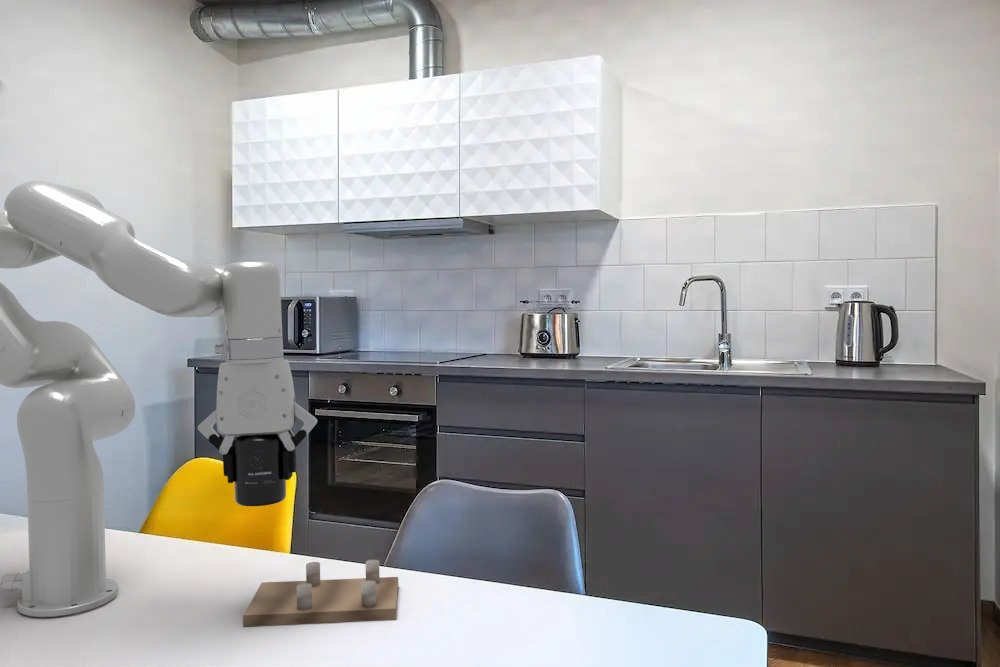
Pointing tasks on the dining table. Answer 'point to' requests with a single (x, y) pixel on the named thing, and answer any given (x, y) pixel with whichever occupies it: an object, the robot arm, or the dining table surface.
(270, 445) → the supplement bottle
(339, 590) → the peg board
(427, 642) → the dining table surface
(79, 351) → the robot arm
